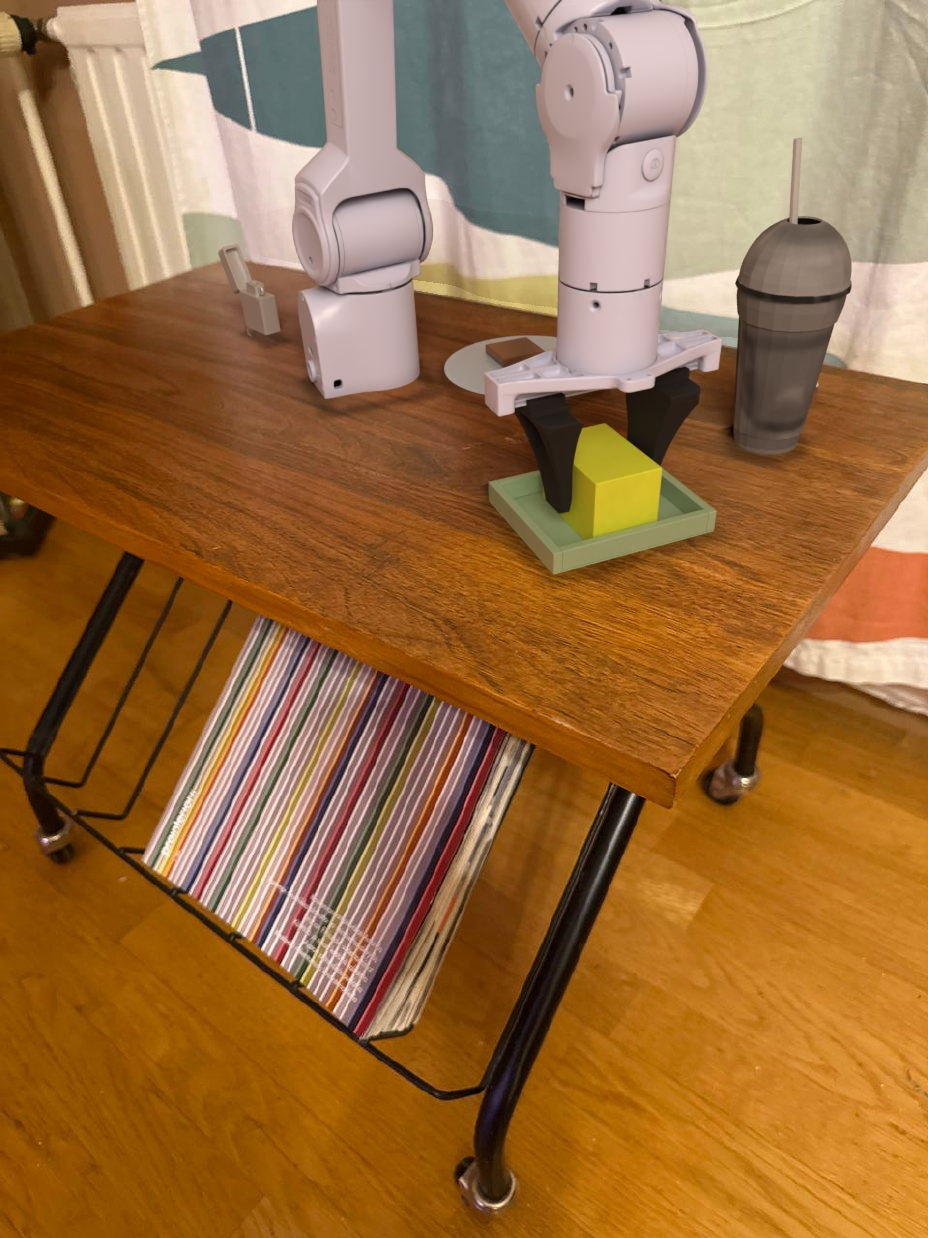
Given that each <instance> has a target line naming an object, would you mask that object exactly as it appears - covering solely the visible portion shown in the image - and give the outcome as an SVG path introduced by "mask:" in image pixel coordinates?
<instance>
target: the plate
mask: <svg viewBox="0 0 928 1238" xmlns="http://www.w3.org/2000/svg"><path fill="white" fill-rule="evenodd" d="M523 337H527V338H528V339H529V340H531V341H532V342H534V343H535V344H536V345H538V346H539V347H540V348H542V349H543V350H544V351H545V352H546V351H548V350H551V349H553V348H556V347H557V336H549V335H548V336H547V335H512V336H511V335H510V336H503V337H496V338H490V339H485V340H482V341H481V340H480V341H478V342H474V343H473V344H469V345H467V346H465V347H462V348H461V349H459V350H457V351H455V352H453V353H452V354H451V355H450V356H448V358H447V359H446V361H445V363H444V366H443V372H444V374H445V376H446V378H447V379H448V380H449V381H450V382H452V384H454V385H456V386H458V387H459V388H461V389H464V390H467V391H469V392H472V393H475V394H480V395H484V396H485V382H484V373H485V372H489V371H494V370H498V369H501V368H503V367H502V366H501V365H500V364H499V363H497V362H496V361H495V360H494V359H493V358H491V357H490V356H489V355H488V354H487V353H486V344H491V343H497V342H502V341H507V340H512V339H518V338H523Z"/></svg>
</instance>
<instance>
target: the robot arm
mask: <svg viewBox="0 0 928 1238" xmlns="http://www.w3.org/2000/svg"><path fill="white" fill-rule="evenodd" d="M503 2H504V3H505V5H506V7H507V8H508V10H509V12H510V14H511V16H512V18H513V20H514V21H515V23H516V25H517V27H518V29H519V30H520V32H521V35H522V36H523V38H524V40H525V42H526V43H527V45H528V47H529V50H530V51H531V53H532V55H533V56H534V59H535V60H536V62H537V64H538V66H539V67H540V70H541V77H540V83H536V84H535V85H534V87H535V89H534V90H535V104H536V110H537V114H538V119H539V122H540V126H541V128H542V132H543V134H544V136H545V138H546V141H547V143H548V149H549V174H550V175H549V177H550V178H552V179H553V182H552V183H553V187H554V189H555V190H556V191H559V215H558V222H559V223H558V226H559V227H558V265H557V269H558V271H557V274H558V275H557V310H556V311H557V313H556V314H557V316H556V318H557V319H556V337H557V347H556V348H553V349H551V350H548V351H546V352H543V353H541V354H538V355H536V356H533V357H531V358H528V359H526V360H523V361H521V362H518V363H516V364H513V365H511V366H508V367H505V368H501V369H498V370H494V371H489V372H485V373H484V382H485V395H484V404H485V405H486V406H487V407H488V409H490V411H491V412H493V413H494V414H495V415H496V416H497V417H500V418H501V417H504V416H509V415H513V414H515V416H516V418H517V420H518V421H519V423H520V426H521V427H522V430H523V432H524V434H525V435H526V438H527V440H528V442H529V445H530V448H531V449H532V452H533V455H534V458H535V460H536V461H535V462H536V464H537V468H538V470H539V471H540V474H541V478H542V482H543V487H544V492H545V498H546V501H547V502H548V503H549V504H550V505H551V506H552V507H553V508H554V509H555V510H556V511H557V512H558V513H560V514H562V513H566V512H569V511H570V507H571V501H572V475H573V464H574V458H575V452H576V448H577V444H578V440H579V436H580V434H581V431H582V428H584V423H582V422H581V421H580V420H579V419H577V418H576V416H574V415H573V414H571V404H567V403H566V398H568V397H573V396H577V395H582V394H588V393H592V392H597V391H602V390H616V389H617V390H619V391H620V392H622V393H624V395H625V403H626V416H627V417H626V418H627V420H626V421H627V434H626V435H627V436H626V440H627V441H629V442H630V443H631V444H633V445H634V446H635V447H636V448H638V449H639V450H640V451H641V452H643V453H644V454H645V455H646V456H648V457H649V458H650V459H652V460H653V461H654V462H655V463H657V464H658V465H659V466H660V467H661V465H662V464H663V463H662V462H663V460H664V458H665V456H666V453H667V452H668V449H669V447H670V445H671V443H672V442H673V439H674V438H675V437H676V434H677V432H678V431H679V429H680V428H681V426H682V425H683V423H684V422H685V421H686V419H687V418H688V416H689V415H690V414H691V413H692V412H693V410H694V409H696V407H697V406H698V405H699V403H700V397H701V389H702V388H701V385H699V384H698V383H696V382H695V381H693V380H692V379H690V373H691V371H695V370H699V371H700V372H702V373H710V372H714V371H719V369H720V360H721V352H722V345H723V339H722V338H721V337H719V336H717V335H715V334H714V333H712V332H711V331H708V330H707V329H705V328H701V329H696V330H689V331H680V332H662V333H660V322H661V312H662V299H663V288H664V278H665V269H666V257H667V247H668V246H667V245H668V235H669V225H670V223H669V221H670V213H671V200H672V190H673V177H674V168H675V157H676V156H675V155H676V146H677V145H676V144H677V138H679V137H680V136H682V135H683V134H685V133H686V132H687V131H688V130H689V129H690V128H691V127H692V125H694V123H695V122H696V119H697V118H698V116H699V114H700V112H701V110H702V107H703V105H704V101H705V98H706V94H707V89H708V84H709V83H708V82H709V62H708V53H707V50H706V49H707V48H706V45H705V41H704V38H703V37H702V34H701V32H700V31H699V27H698V22H697V19H696V17H695V15H694V14H692V12H690V11H689V10H687V9H686V8H684V6H680V5H677V4H672V3H667V4H666V3H663V2H661V0H503ZM316 10H317V23H318V36H319V37H318V38H319V39H318V40H319V49H320V51H319V52H320V64H321V79H322V89H323V90H322V91H323V92H322V93H323V104H324V105H323V106H324V118H325V132H326V142H325V144H324V145H323V147H322V148H321V149H320V150H318V152H317V153H316V154H315V155H314V156H313V157H311V159H310V160H309V161H308V162H307V163H306V164H305V165H304V166H302V168H301V169H300V170H299V171H298V172H297V173H296V175H295V176H294V211H293V215H292V221H291V231H292V240H293V244H294V249H295V253H296V255H297V259H298V261H299V263H300V265H301V267H302V269H303V271H304V272H305V273H306V274H307V276H308V277H309V278H310V279H312V281H314V282H315V284H317V285H315V286H313V287H310V288H309V287H308V288H305V289H302V290H300V291H298V293H297V300H296V301H297V314H298V320H299V327H300V333H301V334H300V335H301V339H302V346H303V347H302V348H303V353H304V359H305V366H306V372H307V376H308V378H309V380H310V382H311V383H313V384H314V386H315V387H316V389H317V390H318V391H319V393H321V396H322V397H323V399H324V400H328V399H334V398H339V397H344V396H349V395H354V394H359V393H368V392H370V393H371V392H382V391H388V390H389V391H390V390H394V389H398V388H402V387H404V386H407V385H410V384H411V383H413V382H414V381H415V380H418V377H419V376H420V374H421V367H420V352H419V340H418V328H417V327H418V326H417V315H416V313H417V312H416V301H415V287H414V278H416V277H418V276H421V275H422V273H421V264H422V263H424V262H425V260H427V258H428V256H429V254H430V251H431V249H432V244H433V240H434V221H433V216H432V212H431V208H430V206H429V202H428V195H427V187H426V173H425V171H423V170H422V168H421V166H419V164H418V163H416V162H415V160H413V159H412V158H411V157H410V156H408V154H406V153H405V152H403V151H402V150H400V149H399V148H398V133H397V131H398V130H397V129H398V128H397V95H396V94H397V92H396V89H397V87H396V54H395V53H396V52H395V51H396V50H395V18H394V15H395V14H394V13H395V12H394V0H316ZM336 381H340V385H338V386H335V382H336Z"/></svg>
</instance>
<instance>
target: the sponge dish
mask: <svg viewBox="0 0 928 1238" xmlns="http://www.w3.org/2000/svg"><path fill="white" fill-rule="evenodd" d="M488 502H489V503H490V505H492V506H493V507H494V509H495V510H496V511H497V512H498V513H499V514H500V516H501V517H502V518H503V520H505V521H506V522H507V524H509V527H511V528H512V530H514V532H515V533H516V534H517V535H518V536H519V537H520V538H521V540H522V541H523V542H524V543H525V544H526V545H527V547H528V548H529V549H530V550H531V551H532V552H533V553H534V555H535V556H536V557H537V558H538V559H539V560H540V561H541V563H542V564H543V565H544V566H545V567H546V568H547V569H548V571H550V573H551V574H552V575H559V574H561V573H565V572H568V571H571V570H575V569H580V568H583V567H586V566H590V565H594V564H598V563H601V562H602V563H603V562H605V561H609V560H613V559H616V558H620V557H625V556H628V555H630V554H635V553H638V552H642V551H646V550H649V549H653V548H657V547H660V546H664V545H668V544H671V543H675V542H678V541H683V540H686V539H690V538H694V537H696V536H700V535H705V534H708V533H712V532H715V527H716V520H717V513H718V510H717V509H715V508H714V507H713V506H711V505H710V504H709V503H708V502H707V501H705V500H704V499H703V498H701V497H700V496H699V495H698V494H696V493H695V492H693V490H691V488H689V487H687V486H686V485H685V484H683V482H682V481H679V480H678V479H677V478H676V477H675V476H674V475H672V474H671V473H669V471H667V470H666V469H664V468H663V467H662V478H661V487H660V497H659V507H658V517H657V521H656V522H652V523H648V524H644V525H641V526H637V527H633V528H629V529H625V530H622V531H618V532H614V533H610V534H606V535H603V536H599V537H595V538H591V539H587V540H584V539H583V538H582V537H581V536H580V535H579V534H578V533H577V532H576V531H575V530H574V529H573V528H572V527H571V526H570V525H569V524H568V523H567V522H566V521H565V520H564V519H563V518H562V517H561V516H560V515H559V514H558V512H557V511H556V510H555V509H554V508H553V507H552V506H551V505H550V504H549V503H548V502H547V501H546V500H545V499H544V498H543V482H542V478H541V474H540V471H539V469H538V470H533V471H529V472H525V473H520V474H517V475H512V476H507V477H504V478H499V479H493V480H490V481H488Z"/></svg>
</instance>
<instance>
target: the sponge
mask: <svg viewBox="0 0 928 1238" xmlns="http://www.w3.org/2000/svg"><path fill="white" fill-rule="evenodd" d="M662 468H663V467H662V466H661V465H660V466H659V465H658V464H657V463H655V462H654V461H653V460H652V459H650V458H649V457H648V456H646V455H645V454H644V453H643V452H641V451H640V450H639V449H638V448H636V447H635V446H634V445H633V444H631V443H630V442H629V441H627V438H626V437H624V436H622V435H621V433H619V432H617V431H616V430H615V429H614V428H612V427H611V426H610V425H608V424H607V423H605V422H603V423H599V424H594V425H590V426H585V427H583V428H582V431H581V434H580V436H579V440H578V444H577V448H576V452H575V458H574V464H573V475H572V501H571V507H570V511H569V512H566V513H562V514H560V513H558V514H559V515H560V516H561V517H562V518H563V519H564V520H565V521H566V522H567V523H568V524H569V525H570V526H571V527H572V528H573V529H574V530H575V531H576V532H577V533H578V534H579V535H580V536H581V537H582V538H583V539H584V540H587V539H591V538H595V537H599V536H603V535H606V534H610V533H614V532H618V531H622V530H625V529H629V528H633V527H637V526H641V525H644V524H648V523H652V522H656V521H657V517H658V507H659V497H660V487H661V478H662ZM543 498H544V499H545V500H546V498H545V492H544V487H543Z"/></svg>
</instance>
